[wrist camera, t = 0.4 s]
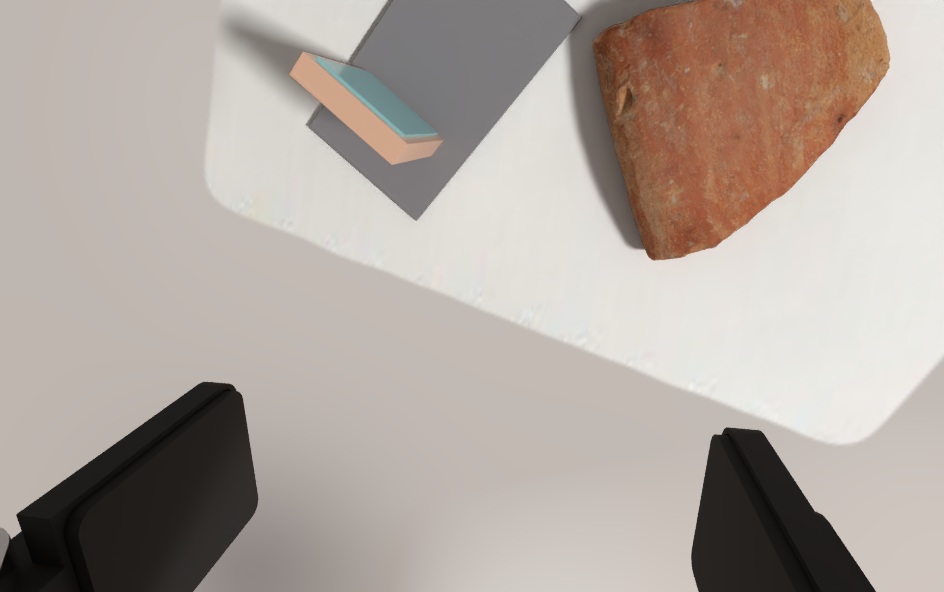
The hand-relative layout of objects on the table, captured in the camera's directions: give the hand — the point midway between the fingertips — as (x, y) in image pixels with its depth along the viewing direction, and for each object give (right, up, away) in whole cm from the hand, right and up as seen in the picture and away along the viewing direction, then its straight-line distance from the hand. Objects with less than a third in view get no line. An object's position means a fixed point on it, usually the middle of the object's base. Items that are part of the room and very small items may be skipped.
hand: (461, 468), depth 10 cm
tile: (-5, +16, +25) cm, 30 cm away
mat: (-2, +18, +24) cm, 31 cm away
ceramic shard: (+17, +15, +23) cm, 32 cm away
